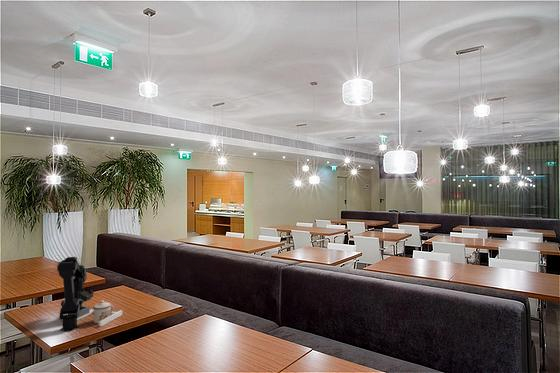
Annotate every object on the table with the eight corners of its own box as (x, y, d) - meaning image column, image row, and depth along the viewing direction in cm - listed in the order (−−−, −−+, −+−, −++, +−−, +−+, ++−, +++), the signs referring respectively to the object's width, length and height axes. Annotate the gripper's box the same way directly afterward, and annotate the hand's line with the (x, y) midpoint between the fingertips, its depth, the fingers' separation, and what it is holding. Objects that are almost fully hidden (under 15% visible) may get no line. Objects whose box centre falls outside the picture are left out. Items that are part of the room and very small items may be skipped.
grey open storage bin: (100, 326, 187) (101, 318, 187) (61, 322, 192) (61, 313, 192) (122, 314, 204) (122, 306, 204) (85, 310, 210) (85, 303, 210)
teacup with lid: (100, 324, 189) (100, 304, 189) (89, 321, 193) (89, 301, 193) (118, 317, 200) (118, 298, 200) (108, 314, 204) (108, 295, 204)
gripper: (76, 293, 190) (76, 320, 190) (100, 283, 208) (100, 308, 208) (60, 291, 192) (60, 318, 192) (85, 282, 210) (85, 307, 210)
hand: (77, 313), depth 200 cm, fingers closed, pressing on grey open storage bin
